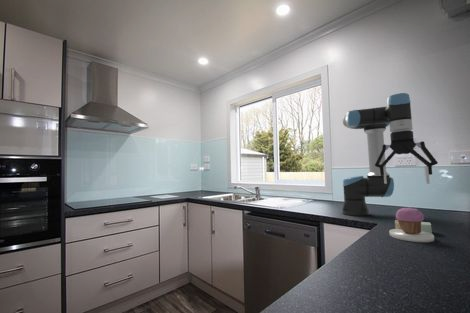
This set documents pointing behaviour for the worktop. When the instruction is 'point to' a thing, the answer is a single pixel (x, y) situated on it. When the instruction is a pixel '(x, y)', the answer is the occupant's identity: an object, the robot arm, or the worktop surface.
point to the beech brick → (397, 224)
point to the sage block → (426, 227)
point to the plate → (411, 236)
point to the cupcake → (410, 220)
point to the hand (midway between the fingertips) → (405, 183)
